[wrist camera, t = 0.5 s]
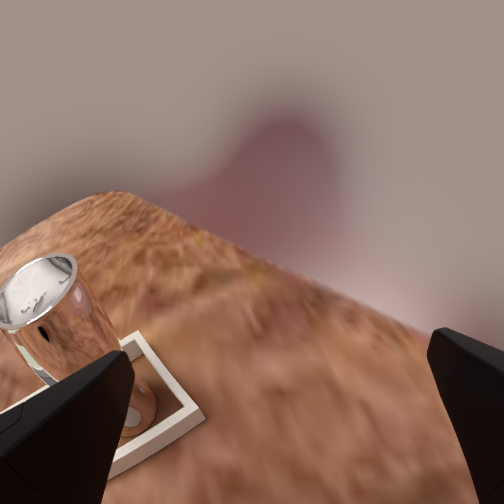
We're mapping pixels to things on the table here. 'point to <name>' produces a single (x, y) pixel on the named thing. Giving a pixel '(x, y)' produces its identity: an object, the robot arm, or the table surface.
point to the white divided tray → (164, 430)
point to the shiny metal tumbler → (64, 328)
